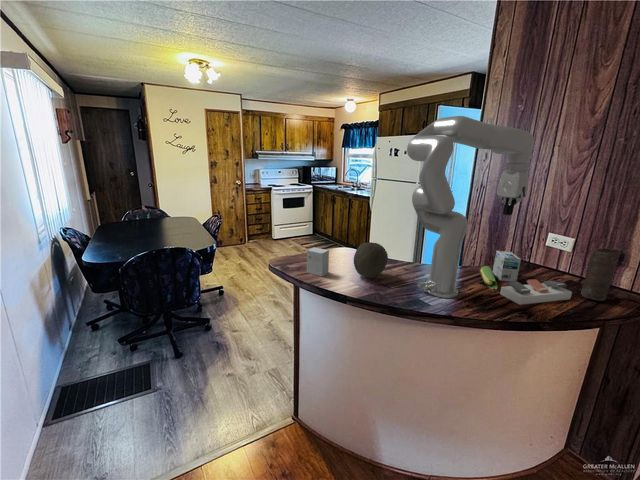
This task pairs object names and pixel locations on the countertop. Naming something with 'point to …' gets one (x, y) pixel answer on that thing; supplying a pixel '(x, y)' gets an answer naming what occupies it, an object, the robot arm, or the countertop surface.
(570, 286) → the countertop surface
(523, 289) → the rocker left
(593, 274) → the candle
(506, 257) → the light bulb box
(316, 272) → the small box
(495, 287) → the edible corn
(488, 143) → the robot arm
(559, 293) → the rocker switch panel
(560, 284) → the rocker right
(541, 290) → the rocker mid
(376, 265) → the dark brown sphere
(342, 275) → the countertop surface
